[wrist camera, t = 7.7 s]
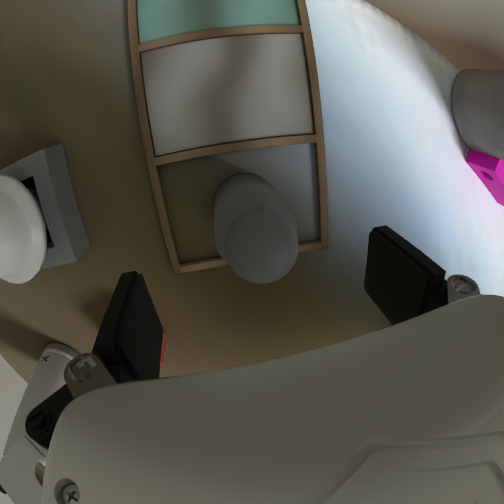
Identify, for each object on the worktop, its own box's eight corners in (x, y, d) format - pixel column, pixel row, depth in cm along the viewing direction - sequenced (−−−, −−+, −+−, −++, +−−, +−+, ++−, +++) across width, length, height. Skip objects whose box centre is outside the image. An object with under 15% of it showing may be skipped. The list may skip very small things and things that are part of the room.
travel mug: (40, 333, 24) (-18, 479, 7) (88, 352, 26) (48, 513, 8) (46, 365, 27) (5, 494, 9) (89, 382, 28) (62, 520, 11)
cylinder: (271, 169, 21) (317, 206, 12) (277, 226, 23) (318, 296, 14) (208, 178, 20) (206, 224, 12) (218, 236, 22) (225, 314, 14)
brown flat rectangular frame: (290, -51, 12) (291, -54, 11) (325, 245, 24) (327, 247, 24) (128, -34, 11) (127, -37, 10) (175, 271, 23) (174, 274, 23)
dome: (50, 151, 16) (-8, 170, 9) (78, 251, 19) (40, 302, 13) (-14, 182, 15) (-65, 210, 9) (14, 267, 19) (-25, 310, 13)
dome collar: (62, 143, 17) (44, 148, 14) (90, 245, 21) (77, 261, 18) (-6, 176, 16) (-25, 184, 14) (21, 261, 20) (7, 277, 18)
